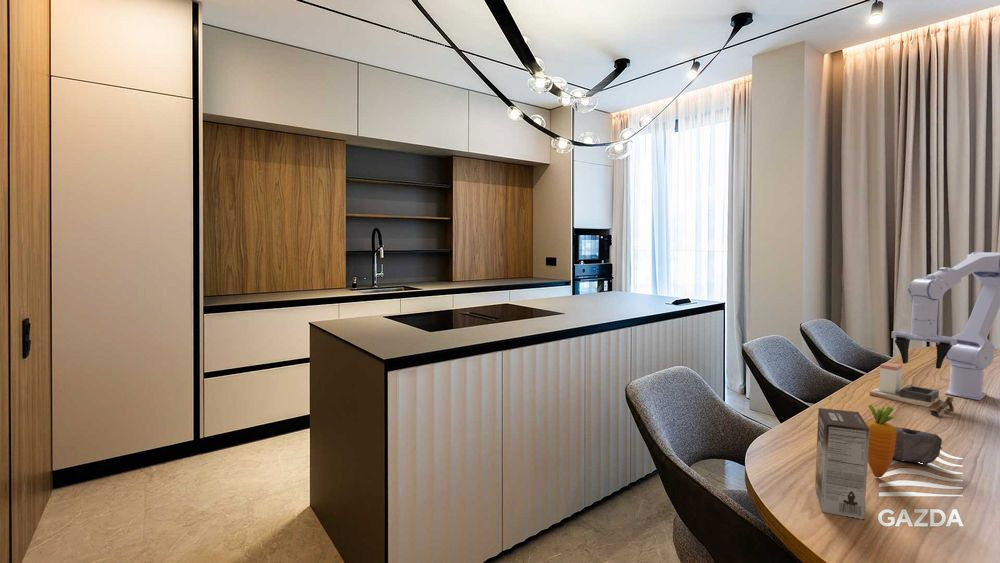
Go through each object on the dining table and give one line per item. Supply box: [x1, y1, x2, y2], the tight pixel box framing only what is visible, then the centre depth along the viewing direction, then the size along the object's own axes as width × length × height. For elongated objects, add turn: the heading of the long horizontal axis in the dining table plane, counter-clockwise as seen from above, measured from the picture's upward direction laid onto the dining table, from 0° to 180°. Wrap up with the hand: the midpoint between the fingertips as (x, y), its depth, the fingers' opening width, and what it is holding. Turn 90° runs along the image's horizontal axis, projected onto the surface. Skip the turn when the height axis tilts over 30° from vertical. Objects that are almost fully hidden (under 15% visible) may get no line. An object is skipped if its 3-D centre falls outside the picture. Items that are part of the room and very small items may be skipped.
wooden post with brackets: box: [929, 396, 955, 417], centre depth 133 cm, size 2×8×4 cm, turn 109°
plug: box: [878, 362, 903, 394], centre depth 150 cm, size 5×4×8 cm
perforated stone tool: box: [893, 426, 943, 466], centre depth 106 cm, size 15×5×7 cm, turn 45°
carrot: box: [865, 404, 897, 478], centre depth 97 cm, size 5×5×15 cm
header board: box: [869, 384, 941, 408], centre depth 147 cm, size 11×14×3 cm
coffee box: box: [814, 407, 870, 520], centre depth 87 cm, size 9×6×16 cm
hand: (921, 365), depth 145 cm, fingers open, 7 cm apart
